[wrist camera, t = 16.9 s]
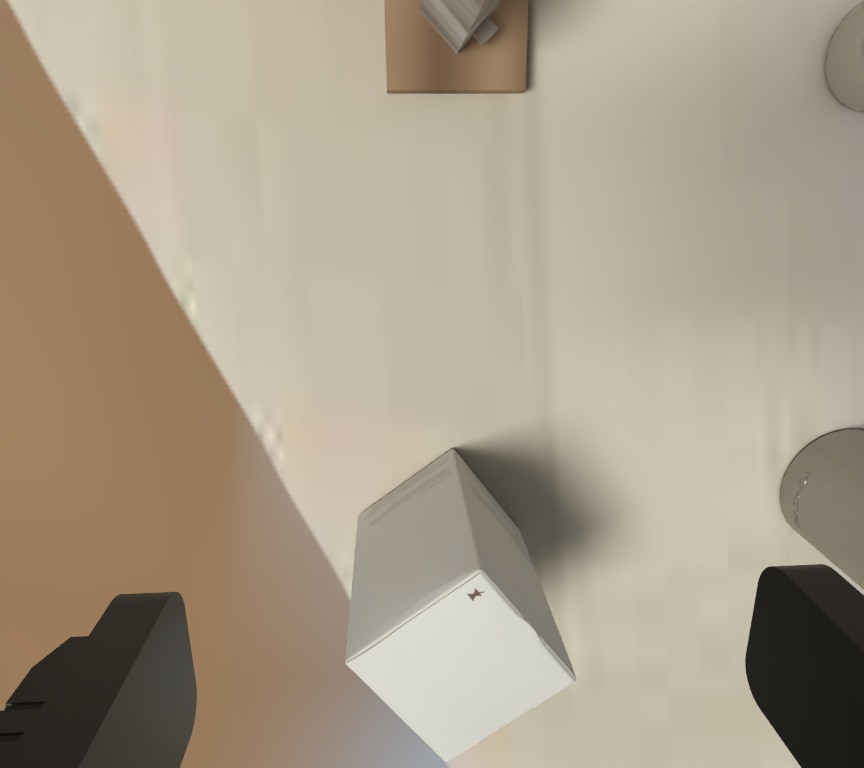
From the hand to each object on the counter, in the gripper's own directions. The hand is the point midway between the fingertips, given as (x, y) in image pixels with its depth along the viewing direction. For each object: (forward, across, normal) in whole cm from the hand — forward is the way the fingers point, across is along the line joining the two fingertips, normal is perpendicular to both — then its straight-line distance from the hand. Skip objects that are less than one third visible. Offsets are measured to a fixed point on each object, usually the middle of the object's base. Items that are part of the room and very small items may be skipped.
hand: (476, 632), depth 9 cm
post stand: (+34, -3, -15) cm, 37 cm away
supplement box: (+34, -2, +18) cm, 39 cm away
